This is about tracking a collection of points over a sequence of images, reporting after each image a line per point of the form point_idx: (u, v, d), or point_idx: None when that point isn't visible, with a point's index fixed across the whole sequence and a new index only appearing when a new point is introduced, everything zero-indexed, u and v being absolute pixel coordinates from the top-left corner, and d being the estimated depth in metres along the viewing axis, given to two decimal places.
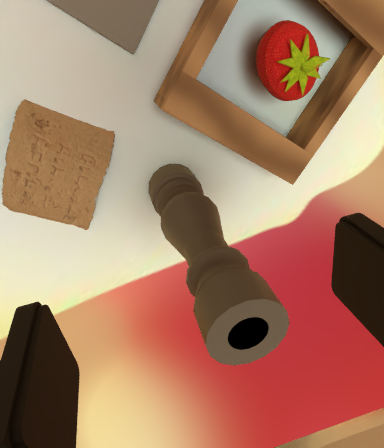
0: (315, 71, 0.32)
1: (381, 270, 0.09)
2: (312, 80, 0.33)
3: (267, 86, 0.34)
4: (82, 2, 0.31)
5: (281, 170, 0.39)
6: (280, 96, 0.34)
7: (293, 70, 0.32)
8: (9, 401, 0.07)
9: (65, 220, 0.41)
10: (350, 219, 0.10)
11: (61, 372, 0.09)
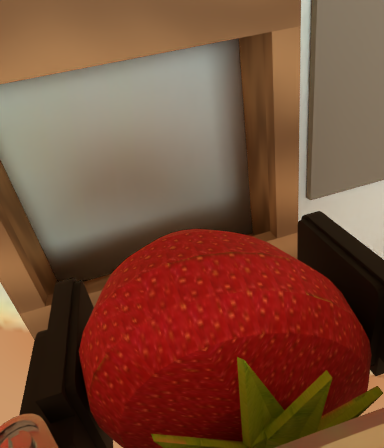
0: None
1: (334, 266, 0.09)
2: None
3: (253, 264, 0.07)
4: None
5: None
6: (191, 300, 0.06)
7: None
8: (61, 360, 0.07)
9: None
10: (310, 217, 0.11)
11: None
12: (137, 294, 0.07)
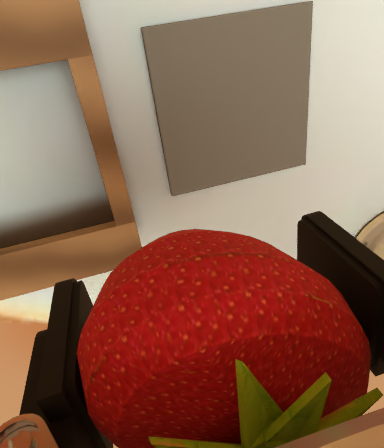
0: None
1: (334, 266, 0.09)
2: None
3: (252, 265, 0.07)
4: (220, 36, 0.27)
5: None
6: (189, 301, 0.06)
7: None
8: (61, 360, 0.07)
9: None
10: (310, 217, 0.11)
11: None
12: (135, 295, 0.07)
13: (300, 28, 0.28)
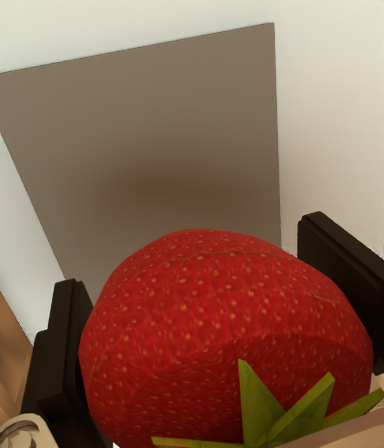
0: None
1: (334, 266, 0.09)
2: None
3: (254, 264, 0.07)
4: (120, 85, 0.16)
5: None
6: (191, 300, 0.06)
7: None
8: (61, 360, 0.07)
9: None
10: (310, 217, 0.11)
11: None
12: (137, 294, 0.07)
13: (257, 66, 0.17)
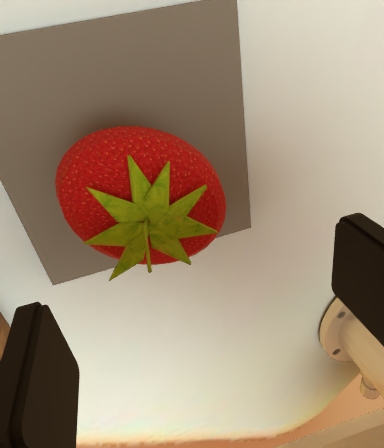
0: (112, 242, 0.13)
1: (381, 270, 0.09)
2: (87, 224, 0.13)
3: (148, 131, 0.13)
4: (84, 57, 0.16)
5: None
6: (110, 139, 0.12)
7: (163, 203, 0.12)
8: (9, 401, 0.07)
9: None
10: (350, 219, 0.10)
11: (61, 372, 0.09)
12: (84, 141, 0.13)
13: (221, 39, 0.18)
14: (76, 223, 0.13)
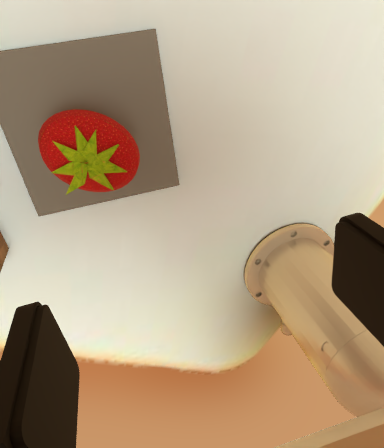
0: (66, 172, 0.23)
1: (381, 270, 0.09)
2: (54, 162, 0.24)
3: (90, 112, 0.24)
4: (60, 64, 0.27)
5: None
6: (67, 116, 0.23)
7: (93, 152, 0.23)
8: (9, 401, 0.07)
9: None
10: (350, 219, 0.10)
11: (61, 372, 0.09)
12: (54, 117, 0.23)
13: (147, 55, 0.28)
14: (48, 162, 0.24)
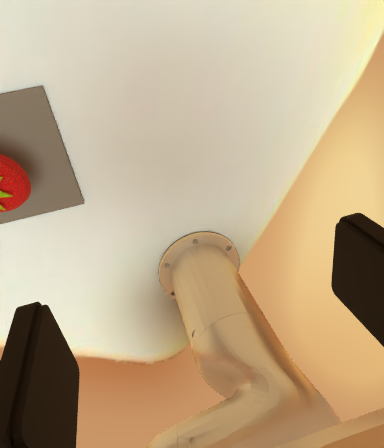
0: None
1: (381, 270, 0.09)
2: None
3: None
4: None
5: None
6: None
7: None
8: (9, 401, 0.07)
9: None
10: (350, 219, 0.10)
11: (61, 372, 0.09)
12: None
13: (38, 106, 0.36)
14: None
